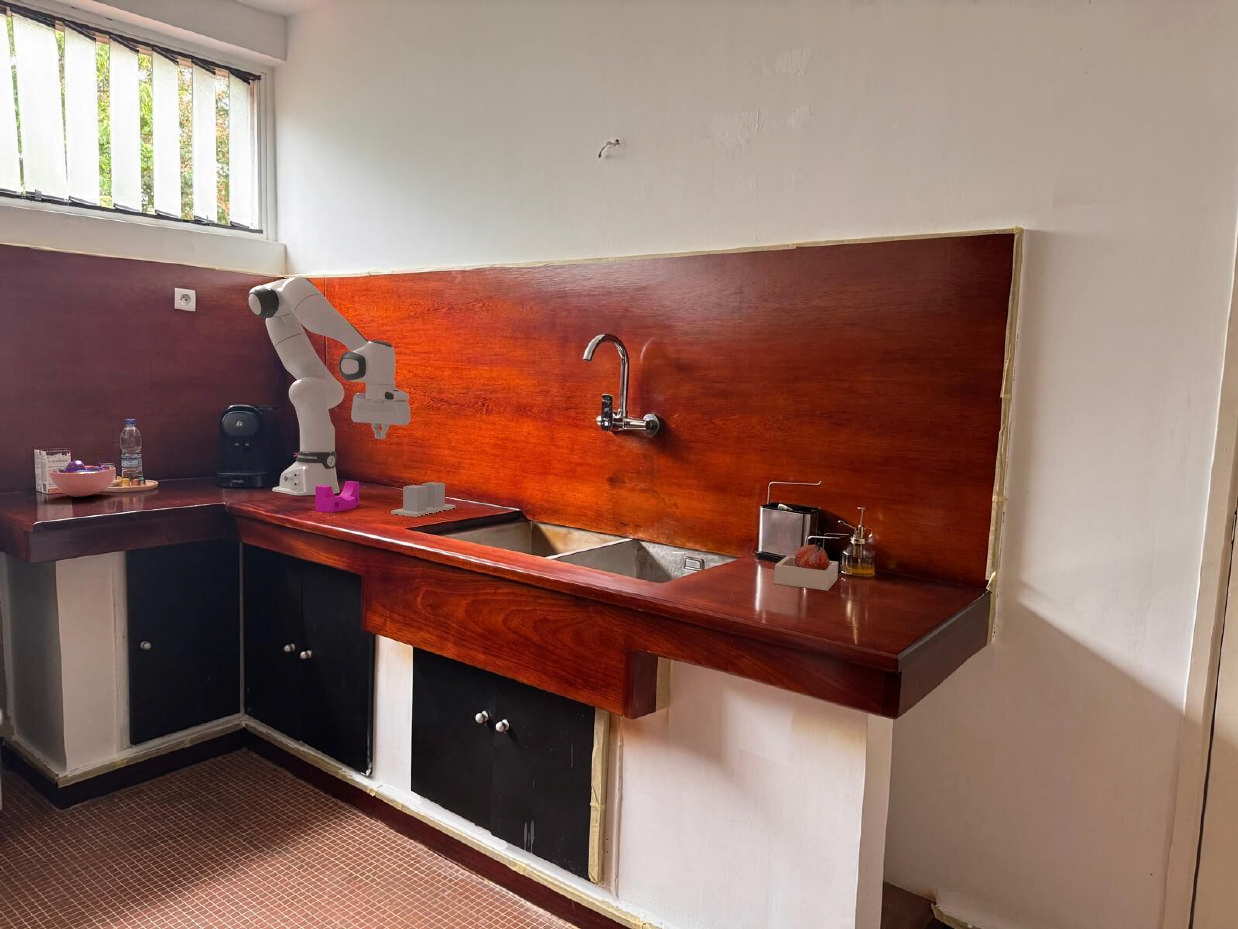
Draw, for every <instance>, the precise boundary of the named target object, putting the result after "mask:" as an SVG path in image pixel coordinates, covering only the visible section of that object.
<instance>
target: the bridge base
mask: <svg viewBox="0 0 1238 929" xmlns="http://www.w3.org/2000/svg"><path fill="white" fill-rule="evenodd" d="M402 487H403V489H402V490H403V491H402V494H403V495H402V496H403V497H402V504H403V505H402V508H398V509H393V510H390V511H391V512H390V513H391V514H390V515H395V514H398V515H397V516H403V515H404V516H405V517H413V518H419V517H422V516H421V515H423V516H426V515H425V514H428V515H430V514H429V513H432V514H436V512H437V513H440V512H439V511H441V512H444V511H443V510H446V511H449V510H454V509H453V508H455V509H456V505H457V504H449V503H445V500H446V499H445V498H446V497H445V496H446V495H445V494H446V493H445V492H446V483H444V482H434V481H430V482H425V483H421V485H417V484H416V485H415V484H412V485H407V486H402ZM418 516H419V517H418Z"/></svg>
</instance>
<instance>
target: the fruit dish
mask: <svg viewBox="0 0 1238 929" xmlns="http://www.w3.org/2000/svg"><path fill="white" fill-rule="evenodd" d="M838 572H839V561H833V560H829V567H828V568H827V569H826V570H817V569H809V568H801V567H798V566H796V564H795V556H791V555H786V556H785V557H783V558H782V559H781V560H779V562H777V563H776V564H775V565H774V576H773V584H775V585H782V586H783V585H784V586H790V587H798V588H805V589H813V590H821V591H829V590H830V589H831V588H832V586H833V585H834V584H835V582H837V580H838V574H839V573H838Z"/></svg>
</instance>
